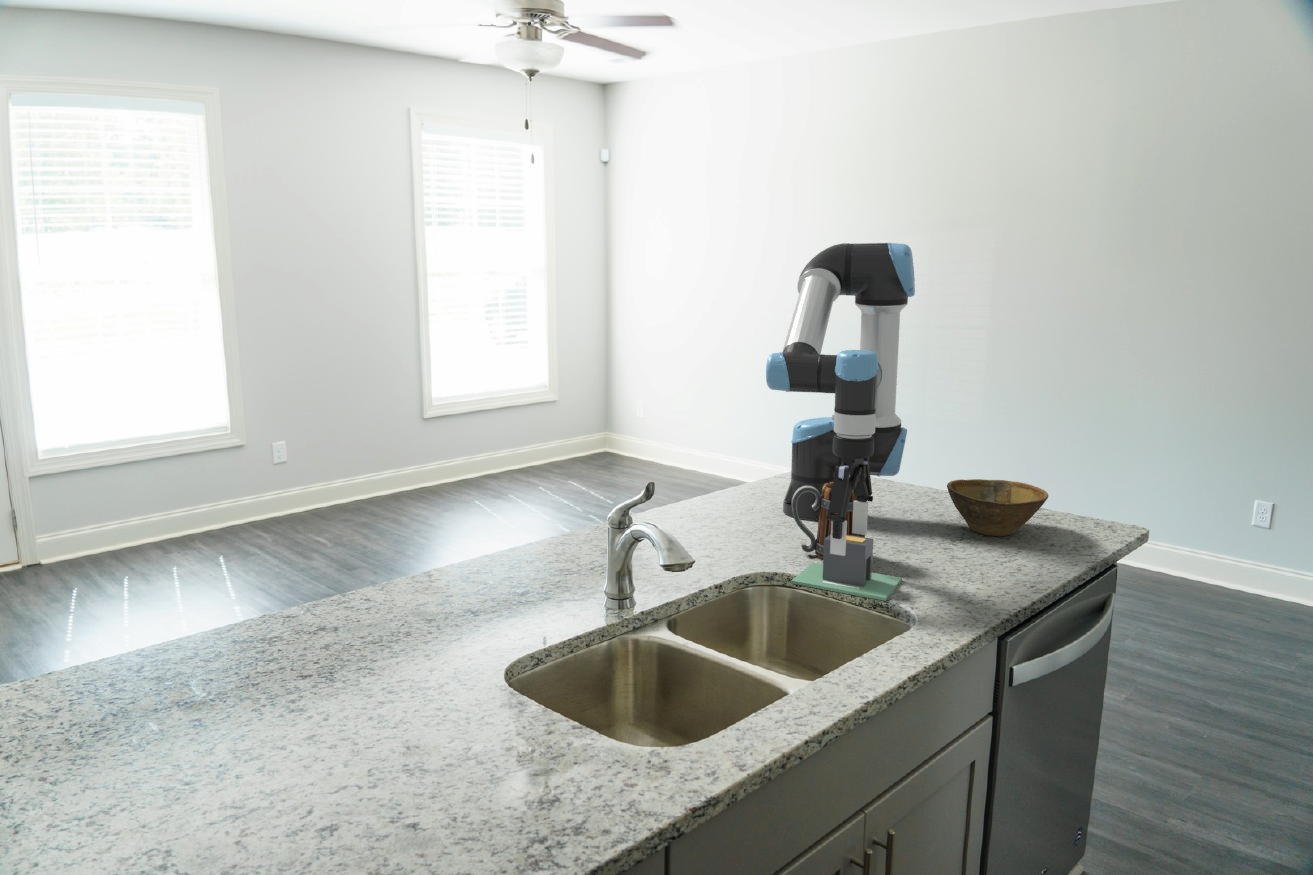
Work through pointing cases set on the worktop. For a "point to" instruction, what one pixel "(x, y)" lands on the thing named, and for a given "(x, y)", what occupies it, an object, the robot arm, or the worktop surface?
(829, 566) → the grey slotted block
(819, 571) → the board
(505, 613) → the worktop surface
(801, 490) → the mug
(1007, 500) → the bowl
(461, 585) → the worktop surface
